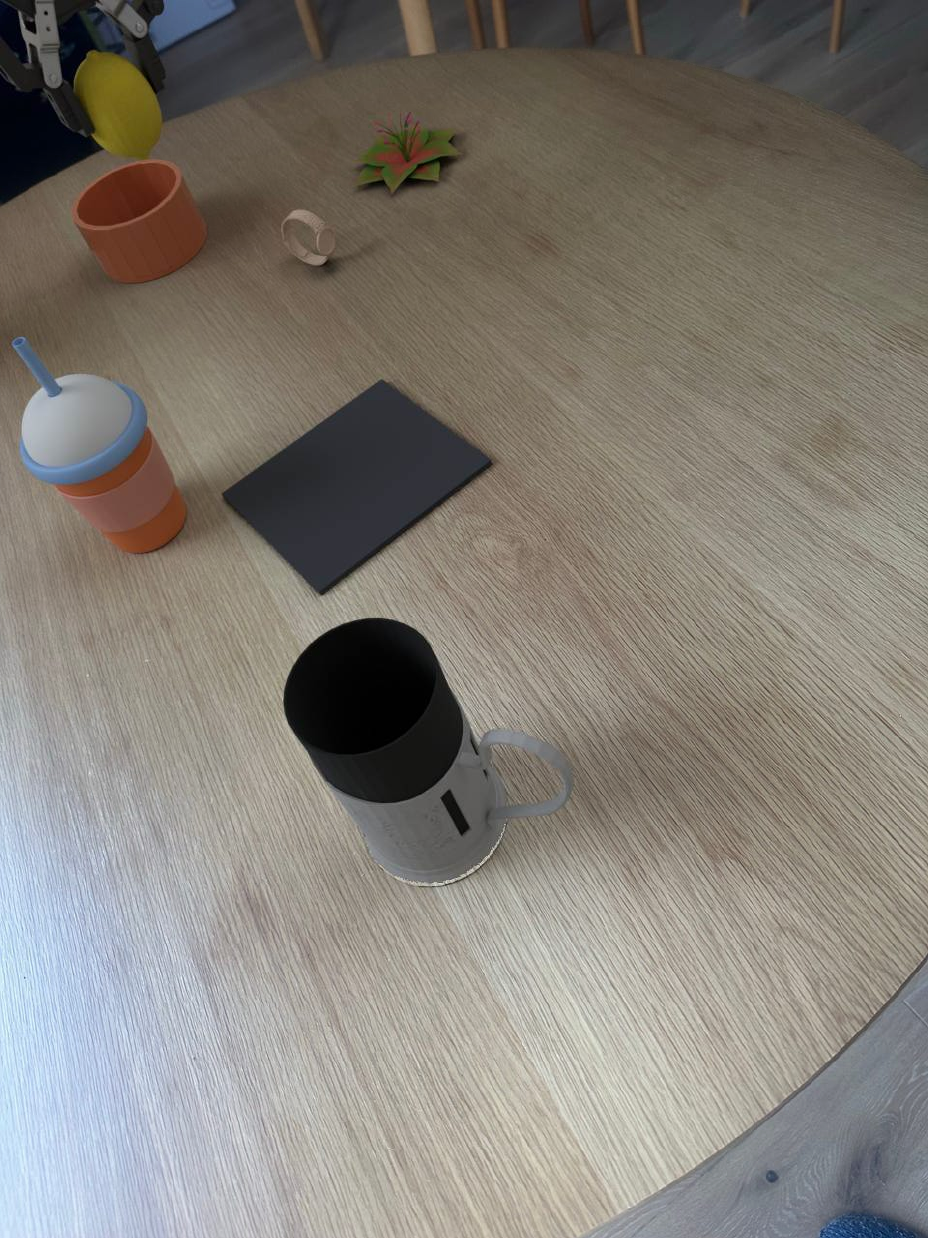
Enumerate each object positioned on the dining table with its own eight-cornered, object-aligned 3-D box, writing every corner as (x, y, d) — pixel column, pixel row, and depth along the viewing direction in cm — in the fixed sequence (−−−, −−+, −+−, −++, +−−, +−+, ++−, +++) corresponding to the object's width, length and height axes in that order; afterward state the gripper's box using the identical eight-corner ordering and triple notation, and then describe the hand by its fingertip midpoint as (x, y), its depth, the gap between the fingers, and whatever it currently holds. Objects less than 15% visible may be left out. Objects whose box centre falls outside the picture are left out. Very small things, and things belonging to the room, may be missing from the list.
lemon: (157, 180, 72) (102, 71, 66) (98, 180, 74) (39, 74, 68) (192, 137, 75) (142, 28, 69) (133, 138, 77) (80, 32, 71)
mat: (321, 596, 69) (318, 591, 68) (223, 497, 77) (221, 493, 76) (492, 464, 73) (491, 459, 72) (383, 382, 80) (381, 378, 80)
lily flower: (478, 124, 100) (469, 78, 96) (451, 195, 93) (440, 150, 90) (368, 133, 103) (355, 89, 100) (335, 202, 97) (320, 159, 93)
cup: (132, 298, 95) (101, 244, 90) (85, 256, 101) (53, 204, 96) (227, 237, 98) (201, 181, 93) (175, 200, 104) (148, 146, 99)
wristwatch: (328, 273, 91) (310, 225, 87) (288, 265, 93) (268, 218, 89) (344, 255, 92) (327, 207, 88) (304, 248, 94) (285, 200, 90)
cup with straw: (201, 557, 73) (74, 373, 59) (87, 580, 75) (-64, 405, 60) (209, 469, 79) (95, 281, 64) (103, 492, 80) (-32, 312, 65)
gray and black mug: (399, 731, 61) (321, 591, 49) (619, 793, 56) (592, 652, 44) (338, 860, 57) (237, 742, 45) (569, 940, 52) (524, 830, 40)
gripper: (56, -225, 62) (177, 50, 75) (-148, -123, 58) (17, 146, 72) (108, -215, 58) (226, 74, 71) (-109, -105, 54) (58, 177, 68)
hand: (120, 109), depth 72 cm, fingers closed on lemon, 5 cm apart
